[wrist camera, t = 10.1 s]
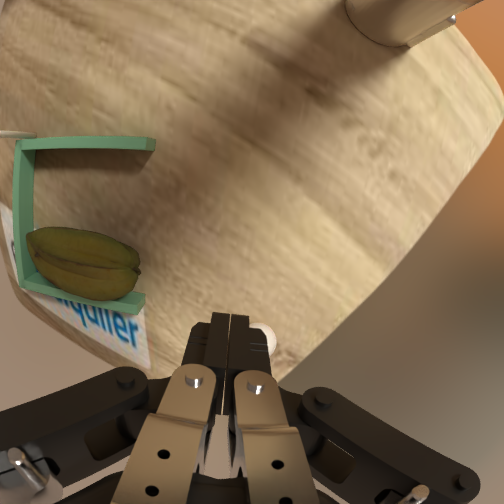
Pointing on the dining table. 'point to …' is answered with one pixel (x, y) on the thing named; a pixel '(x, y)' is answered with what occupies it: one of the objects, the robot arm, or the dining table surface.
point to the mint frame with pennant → (24, 209)
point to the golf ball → (268, 332)
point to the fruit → (84, 262)
